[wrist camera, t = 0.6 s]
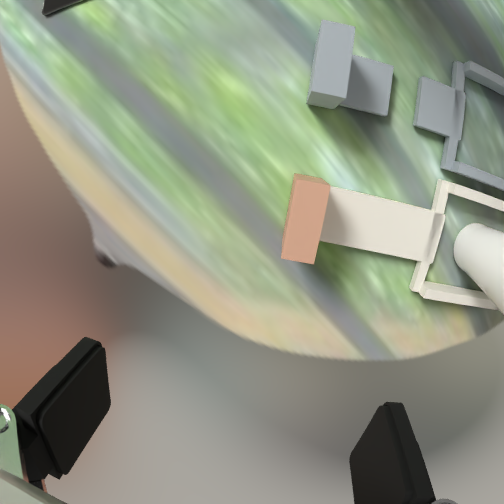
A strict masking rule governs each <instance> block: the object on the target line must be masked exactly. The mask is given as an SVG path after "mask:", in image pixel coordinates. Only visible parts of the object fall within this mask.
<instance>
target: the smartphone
mask: <svg viewBox="0 0 504 504" xmlns="http://www.w3.org/2000/svg"><path fill="white" fill-rule="evenodd" d="M82 1H85V0H44V5H43V9H42V14H43V15H45V16H46V15H49V14H51V13H54V12H56V11H58V10H61V9H63V8H66V7H68V6H71V5H74V4H76V3H79V2H82Z"/></svg>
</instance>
